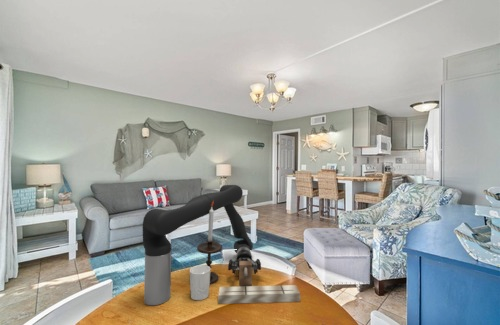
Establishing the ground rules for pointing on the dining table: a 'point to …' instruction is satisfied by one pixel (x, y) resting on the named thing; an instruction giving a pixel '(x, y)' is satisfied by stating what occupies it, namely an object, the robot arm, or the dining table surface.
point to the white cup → (199, 282)
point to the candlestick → (210, 246)
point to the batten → (258, 294)
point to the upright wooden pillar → (245, 273)
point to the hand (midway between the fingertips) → (245, 271)
